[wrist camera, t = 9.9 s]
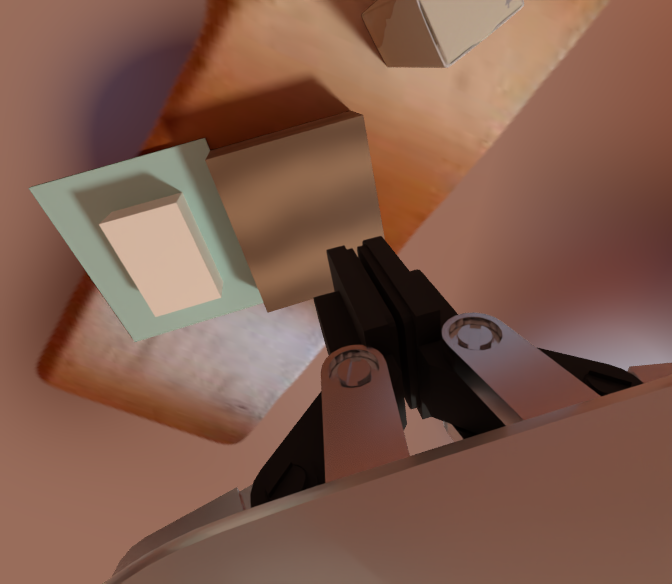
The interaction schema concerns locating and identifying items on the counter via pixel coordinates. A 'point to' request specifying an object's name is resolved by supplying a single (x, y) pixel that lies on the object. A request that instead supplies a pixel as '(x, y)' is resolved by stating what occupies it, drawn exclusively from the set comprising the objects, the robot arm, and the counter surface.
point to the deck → (298, 202)
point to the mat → (136, 188)
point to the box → (433, 28)
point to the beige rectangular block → (164, 253)
